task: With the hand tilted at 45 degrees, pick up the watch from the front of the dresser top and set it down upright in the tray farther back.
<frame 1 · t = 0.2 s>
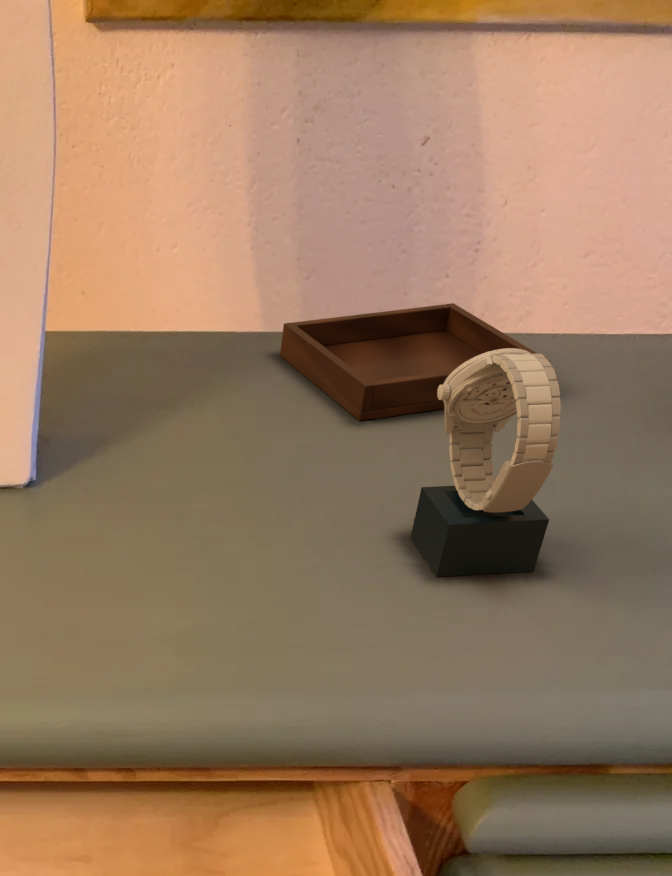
tray: (406, 374, 84), on the table
watch: (468, 556, 65), on the table
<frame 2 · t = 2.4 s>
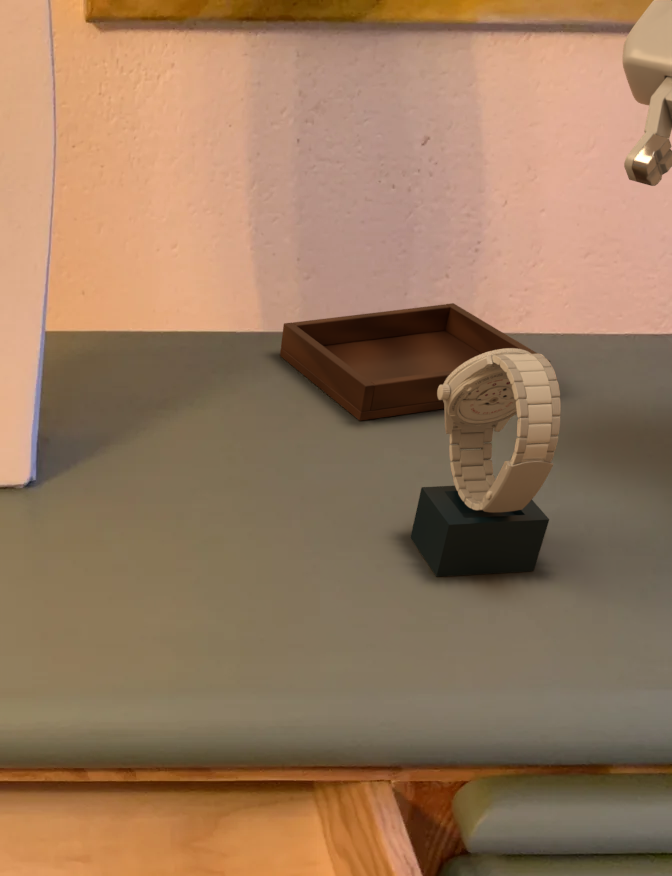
nothing on the table moved.
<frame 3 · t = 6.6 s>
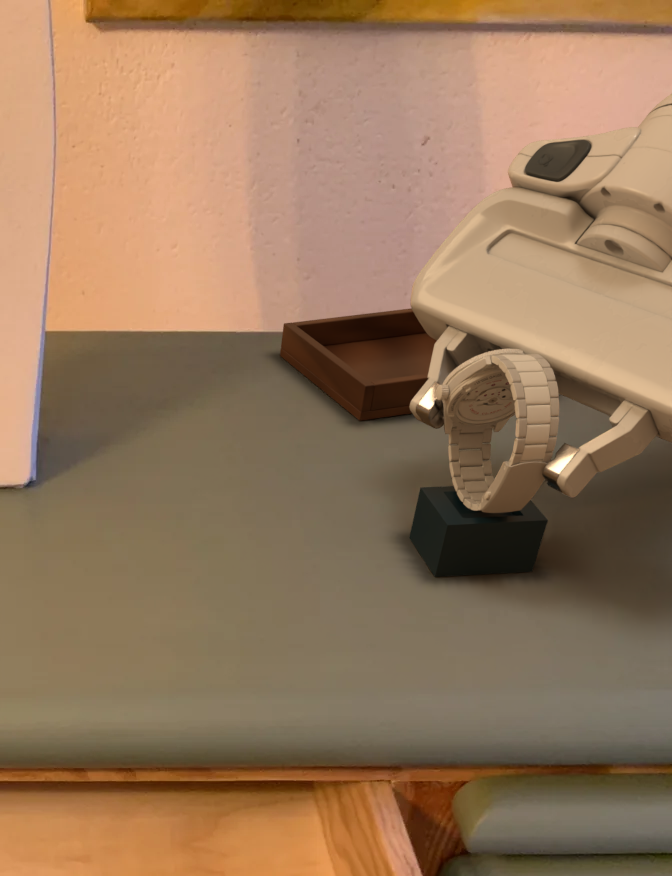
hand: (485, 451, 60), 6 cm above the table, tool tilted 45°, fingers closed on watch, 8 cm apart
watch: (467, 556, 65), on the table, touching gripper
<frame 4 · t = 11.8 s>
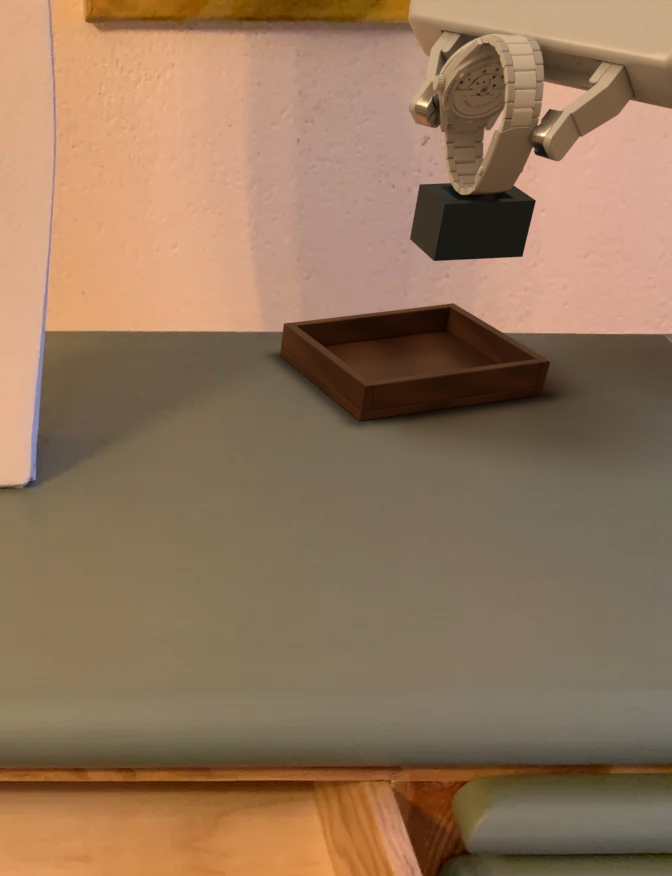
hand: (478, 134, 66), 17 cm above the table, tool tilted 45°, fingers closed on watch, 8 cm apart
watch: (463, 250, 71), point 11 cm above the table, touching gripper
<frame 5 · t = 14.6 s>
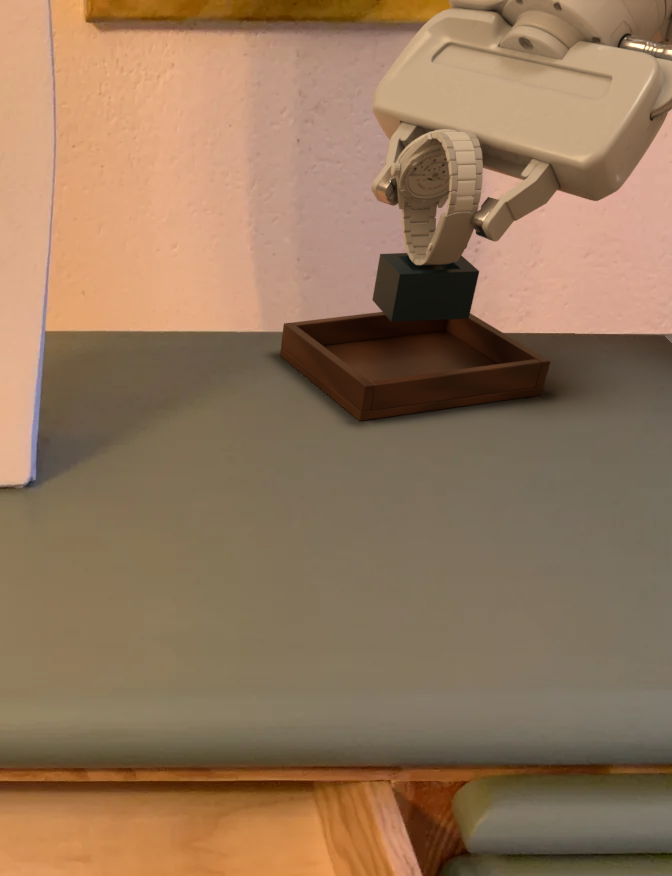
hand: (429, 214, 77), 11 cm above the table, tool tilted 45°, fingers closed on watch, 8 cm apart
watch: (418, 311, 81), point 4 cm above the table, touching gripper
when the fingers open (8 cm above the table, at t = 17.3 s): watch stays where it is, point 1 cm above the table.
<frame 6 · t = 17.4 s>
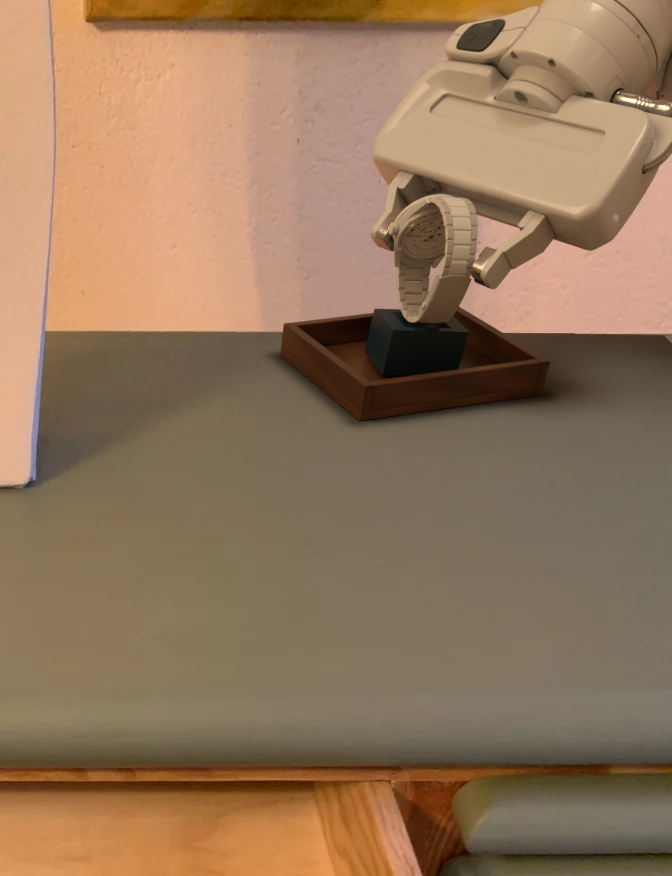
hand: (428, 261, 79), 8 cm above the table, tool tilted 45°, fingers open, 8 cm apart
watch: (408, 366, 84), point 1 cm above the table, touching gripper
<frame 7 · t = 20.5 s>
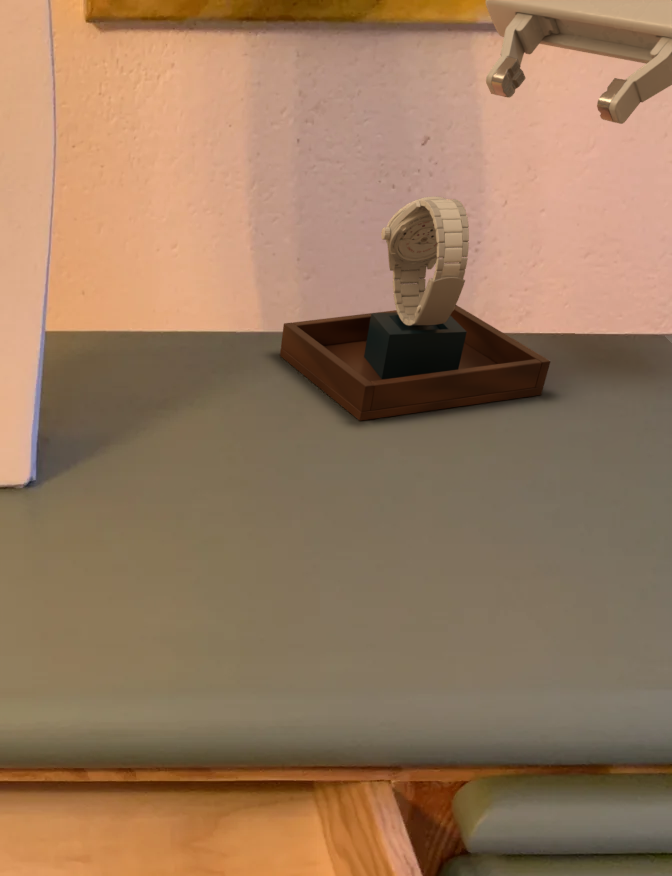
hand: (549, 102, 76), 17 cm above the table, tool tilted 45°, fingers open, 8 cm apart
watch: (408, 368, 84), resting on tray
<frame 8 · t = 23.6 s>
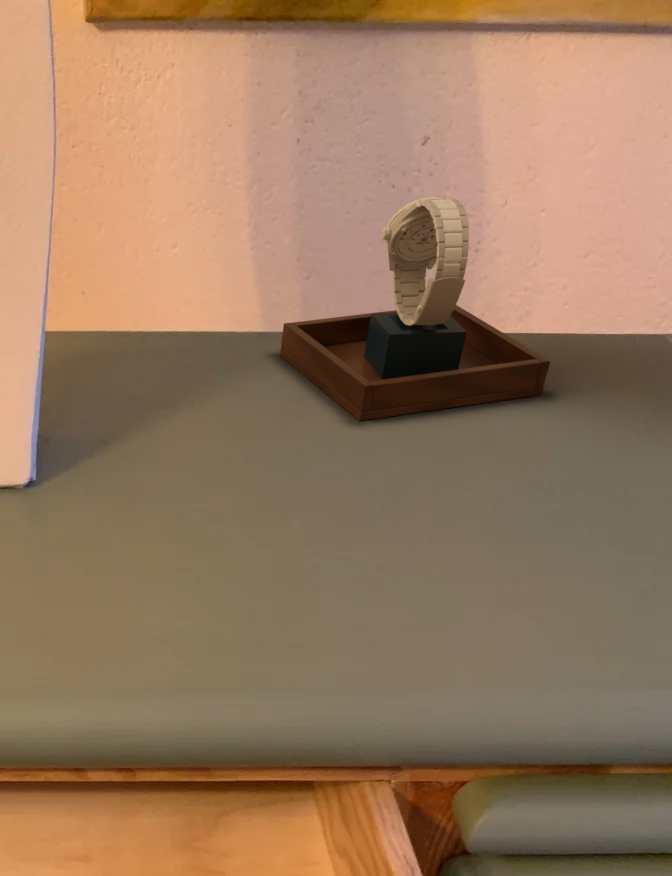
nothing on the table moved.
at the end: watch inside the target area in the tray (0.1 cm from its centre), point 0.4 cm above the tray's base; watch tilted 0°; the gripper is holding nothing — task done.
